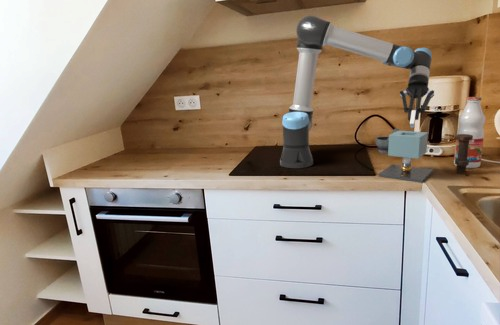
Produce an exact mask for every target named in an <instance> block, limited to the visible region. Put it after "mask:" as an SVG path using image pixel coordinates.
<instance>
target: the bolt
mask: <svg viewBox="0 0 500 325" xmlns="http://www.w3.org/2000/svg"><path fill="white" fill-rule="evenodd" d="M456 139H457V140H459V150H458V157H457V159H456V160H455V164H456V165H457V166H456V165H455V164H454V165H455V166H456V167H455V168H456V170H455V173H456V174H459V175H465V174H466V170H467V168H466V166H467V165H468V164H469V160H468V159H467V155H468V146H469V140H472V139H473V136H472V135H469V134H458V135H457V134H456V136H455V140H456Z"/></svg>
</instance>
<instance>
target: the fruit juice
mask: <svg viewBox="0 0 500 325" xmlns="http://www.w3.org/2000/svg"><path fill="white" fill-rule="evenodd" d="M481 102H482V96H467V97H466V105H465V107H464V109H463V111H462V112H461V114H460V115H459V117H458V120H457V121H458V129H457V131H456V136H457V135H458V134H469V135H472V136H473V139H472V140H469V146H468V155H467V159H468V160H469V164H468V165H467V166H466V169H476V168H479V167H480V166H481V165H482V164H481V163H482V162H481V161H482V154H483V146H484V138H485V130H484V125H485V122H486V116H485V114H484V113H483V108H482V105H481ZM458 150H459V140H457V139H456V138H455V149H454V156H453V157H454V158H453V164H454V165H455V166H456V167H457V165H456V164H455V160H456V159H457V157H458Z"/></svg>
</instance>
